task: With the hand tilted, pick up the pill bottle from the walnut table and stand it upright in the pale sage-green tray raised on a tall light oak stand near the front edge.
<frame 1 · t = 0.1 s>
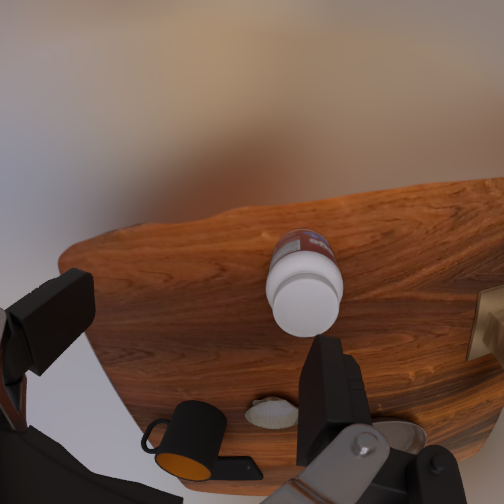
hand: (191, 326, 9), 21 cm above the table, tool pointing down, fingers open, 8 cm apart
pill bottle: (302, 255, 31), on the table
plant saucer: (365, 443, 40), on the table
mug: (190, 415, 41), on the table
seashell: (275, 405, 38), on the table
cell phone: (213, 466, 46), on the table
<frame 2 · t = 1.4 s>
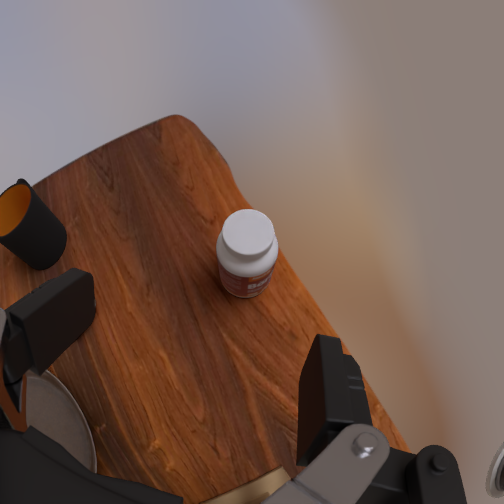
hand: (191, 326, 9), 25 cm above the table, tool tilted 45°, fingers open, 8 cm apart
pill bottle: (245, 275, 37), on the table
plant saucer: (42, 435, 25), on the table
mug: (45, 235, 38), on the table
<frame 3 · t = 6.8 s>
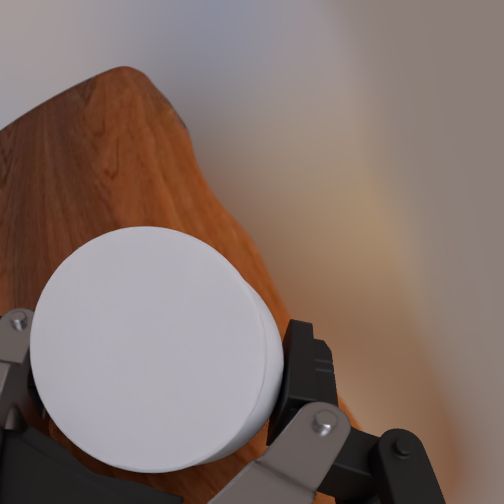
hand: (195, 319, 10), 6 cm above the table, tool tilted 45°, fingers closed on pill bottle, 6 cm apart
pill bottle: (203, 371, 15), on the table, touching gripper
when the fingers open (24 cm above the table, at t = 18.3 s): pill bottle stays where it is, resting on tray.
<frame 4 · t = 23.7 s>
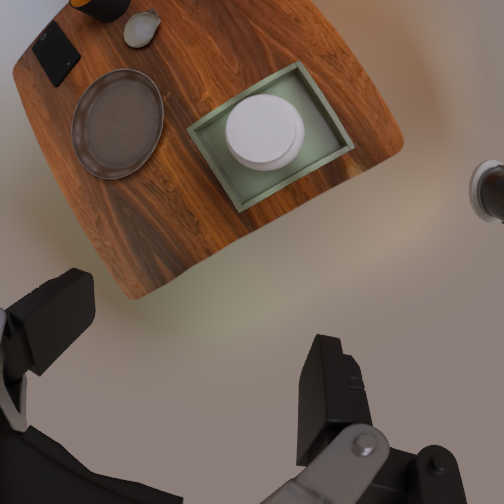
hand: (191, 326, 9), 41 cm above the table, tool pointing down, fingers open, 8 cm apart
tray: (270, 135, 29), on the table
pill bottle: (271, 137, 29), point 18 cm above the table, touching tray
plant saucer: (121, 123, 47), on the table
mug: (112, 1, 38), on the table
seashell: (145, 30, 41), on the table
cell phone: (55, 52, 43), on the table
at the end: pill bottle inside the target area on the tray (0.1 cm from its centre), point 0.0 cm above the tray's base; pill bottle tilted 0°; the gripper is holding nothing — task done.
